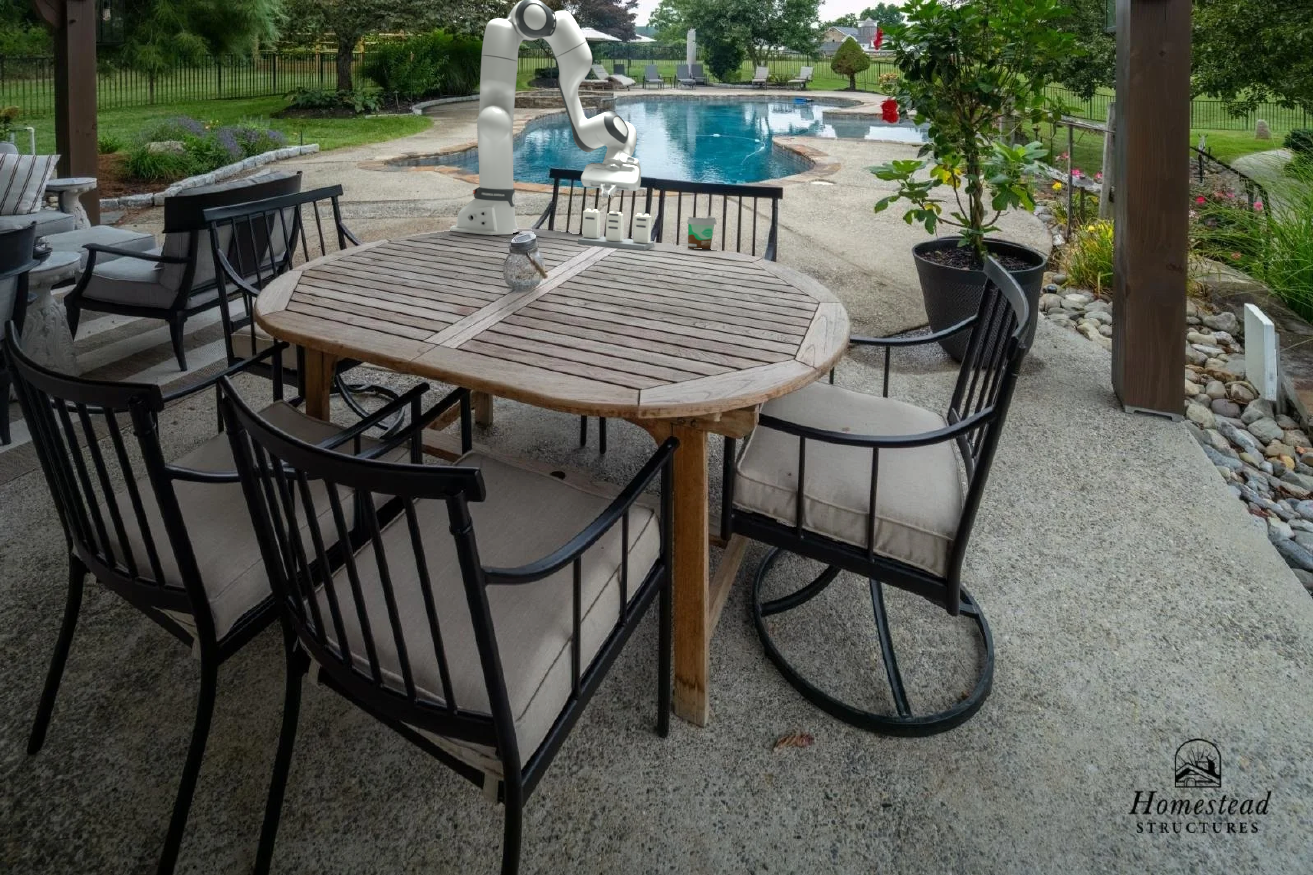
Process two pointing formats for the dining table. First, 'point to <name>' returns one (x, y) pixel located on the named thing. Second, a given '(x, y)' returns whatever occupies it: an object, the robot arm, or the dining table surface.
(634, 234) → the tile two
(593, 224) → the tile one
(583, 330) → the dining table surface
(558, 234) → the dining table surface
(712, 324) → the dining table surface
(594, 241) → the tile board
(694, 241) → the food container
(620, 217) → the tile three
